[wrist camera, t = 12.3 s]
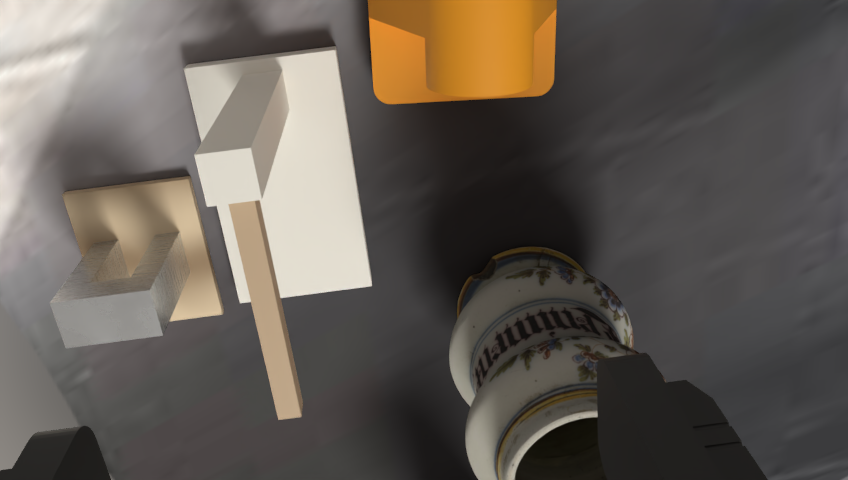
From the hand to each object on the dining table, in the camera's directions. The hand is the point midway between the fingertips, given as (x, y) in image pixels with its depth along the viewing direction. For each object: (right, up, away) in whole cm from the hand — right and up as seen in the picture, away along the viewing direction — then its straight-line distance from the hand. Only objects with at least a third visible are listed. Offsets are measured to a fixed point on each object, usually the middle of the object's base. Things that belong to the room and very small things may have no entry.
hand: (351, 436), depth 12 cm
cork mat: (-17, +2, +40) cm, 43 cm away
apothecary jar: (+8, -2, +44) cm, 45 cm away
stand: (-8, +7, +38) cm, 40 cm away
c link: (-17, +2, +39) cm, 43 cm away
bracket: (+3, +16, +35) cm, 39 cm away
